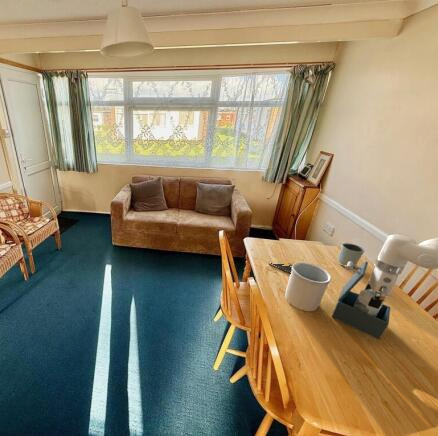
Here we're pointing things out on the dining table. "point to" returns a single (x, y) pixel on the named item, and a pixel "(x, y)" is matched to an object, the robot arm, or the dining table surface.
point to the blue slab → (353, 278)
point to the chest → (361, 316)
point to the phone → (284, 267)
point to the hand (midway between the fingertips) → (370, 299)
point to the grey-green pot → (350, 253)
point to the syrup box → (366, 302)
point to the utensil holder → (306, 286)
